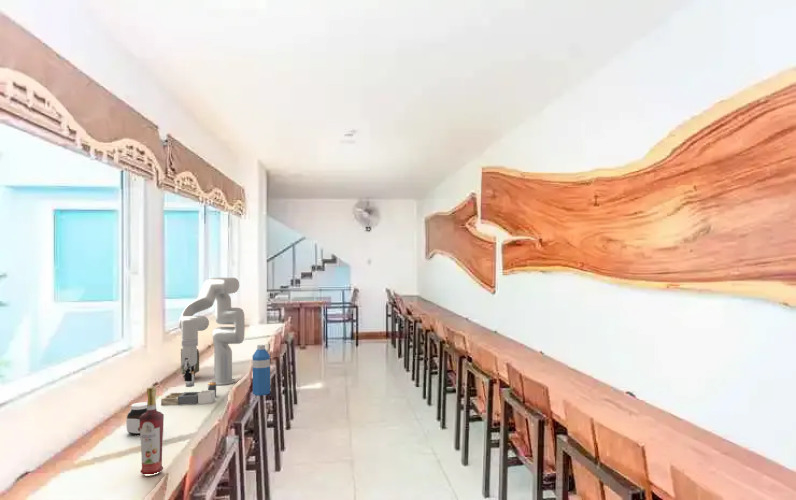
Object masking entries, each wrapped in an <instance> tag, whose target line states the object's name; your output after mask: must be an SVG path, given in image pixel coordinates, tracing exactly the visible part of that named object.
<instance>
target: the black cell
mask: <svg viewBox="0 0 796 500" xmlns="http://www.w3.org/2000/svg"><path fill="white" fill-rule="evenodd" d="M207 390H215V398H216V397H217V385H216V382H212V381H211V382H207Z"/></svg>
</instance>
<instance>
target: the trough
mask: <svg viewBox="0 0 796 500" xmlns="http://www.w3.org/2000/svg"><path fill="white" fill-rule="evenodd" d="M182 393H183V392H170V393H168V394H167V395H165V396H163V397H162V398H161V399H160V403H161V404H160V405H161V406H177V405H178V396H179V395H181V394H182ZM178 406H179V405H178Z"/></svg>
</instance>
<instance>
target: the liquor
mask: <svg viewBox="0 0 796 500" xmlns="http://www.w3.org/2000/svg"><path fill="white" fill-rule="evenodd" d="M146 394H147V395H146V396H147V401H146V402H147V412H146V413H144V414H142V415H141V416H140V417H139V420H140V435H139V438H140V448H141V449H140V450H141V469H140V473H141V474H142V475H143V474H154V473H157V472H160V471H161V472H162V471H163V470H164V466H163V465H162V464H163V439H164V438H163V437H164V418H165V417H164V415H165V414H164V413H162V412H161V411H158V409H157V403H156V401H157V400H156V395H157V387H155V386H150V387H147V388H146ZM161 472H160V473H161Z"/></svg>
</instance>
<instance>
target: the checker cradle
mask: <svg viewBox="0 0 796 500" xmlns="http://www.w3.org/2000/svg"><path fill="white" fill-rule="evenodd" d="M199 392H200V391H189V392H188V391H184V392H181V393H182V394H181V395H179V396H178V406H179V405H198V393H199ZM187 395H193V396H187Z"/></svg>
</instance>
